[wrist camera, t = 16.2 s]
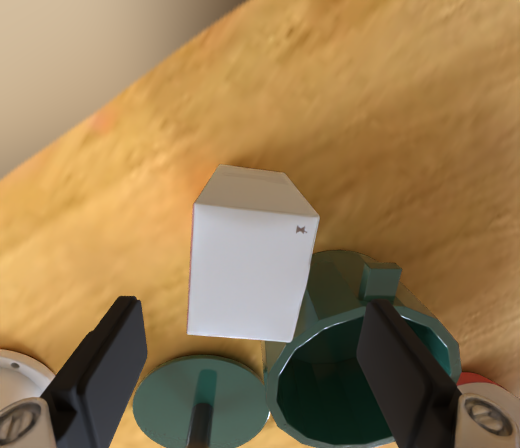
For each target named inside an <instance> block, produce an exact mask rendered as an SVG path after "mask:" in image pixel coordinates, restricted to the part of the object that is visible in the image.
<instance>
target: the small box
mask: <svg viewBox="0 0 520 448" xmlns="http://www.w3.org/2000/svg"><path fill="white" fill-rule="evenodd" d="M319 218H320V216H319V215H318V213H317V212H316V211H315V210H314V209H313V207H312V206H311V205H310V204H309V202H308V201H307V200H306V199H305V198H304V196H303V195H302V194H301V193H300V191H299V190H298V189H297V188H296V187H295V185H294V184H293V183H292V182H291V180H290V179H289V178H288V177H287V176H286V174H285V173H283V172H275V171H267V170H259V169H252V168H244V167H237V166H230V165H222V164H219V165H218V167H217V168H216V170H215V172H214V173H213V175H212V176H211V178H210V179H209V181H208V182H207V184H206V186H205V187H204V189H203V190H202V192H201V193H200V195H199V197H198V198H197V199H196V201H195V202H194V204H193V214H192V232H191V250H190V272H189V291H188V312H187V334H189V335H200V336H215V337H228V338H241V339H255V340H267V341H280V342H291V341H292V339H293V335H294V332H295V328H296V324H297V320H298V315H299V311H300V307H301V303H302V299H303V295H304V292H305V289H306V285H307V280H308V275H309V270H310V262H311V257H312V252H313V247H314V243H315V238H316V233H317V228H318V224H319Z"/></svg>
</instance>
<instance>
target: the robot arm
mask: <svg viewBox="0 0 520 448" xmlns="http://www.w3.org/2000/svg"><path fill="white" fill-rule="evenodd" d="M356 355H357V360H358V362H359V364H360V366H361V368H362V371H363V373H364V375H365V377H366V379H367V381H368V383H369V386H370V388H371V390H372V392H373V394H374V396H375V398H376V401H377V403H378V405H379V407H380V409H381V411H382V413H383V416H384V418H385V420H386V422H387V424H388V426H389V428H390V431H391V433H392V435H393V437H394V439H395V441H396V443H397V445H398V447H399V448H520V430H519V427H518V425H517V423H516V422H515V420H514V419H513V417H512V416H511V415H510V414H509V413H508V412H507V411H506V410H505V409H503V408H502V407H501V406H500V405H498V404H497V403H495V402H494V401H492V400H490V399H488V398H487V397H484V396H482V395H479V394H474V393H464V394H462V393H461V391H460V390H459V389H458V388H457V385H456V384H455V383H454V381H453V380H452V379H451V378H450V376H449V375H448V374H447V373H446V371H445V370H444V369H443V368H442V366H441V365H440V364H439V363H438V361H437V360H436V359H435V358H434V356H433V355H432V354H431V353H430V351H429V350H428V349H427V348H426V346H425V345H424V344H423V343H422V341H421V340H420V339H419V338H418V336H417V335H416V334H415V333H414V331H413V330H412V329H411V328H410V326H409V325H408V324H407V323H406V321H405V320H404V319H403V318H402V316H401V315H400V314H399V313H398V311H397V310H396V309H395V308H394V306H393V305H392V304H391V303H390V301H389V300H387V299H372V300H371V302H369V303H368V304H367V306H366V311H365V315H364V320H363V324H362V329H361V333H360V338H359V342H358V347H357V352H356ZM146 359H147V344H146V337H145V329H144V321H143V314H142V306H141V301H140V300H137V299H136V297H135V296H119V297H118V298H117V300H116V301H115V302H114V304H113V305H112V306H111V308H110V309H109V310H108V312H107V313H106V314H105V316H104V317H103V318H102V320H101V321H100V322H99V324H98V325H97V326H96V328H95V329H94V330H93V331H91V332H89V333H88V334H87V335H86V337H85V338H84V339H83V341H82V342H81V343H80V344H79V346H78V347H77V348H76V350H75V351H74V352H73V354H72V355H71V356H70V358H69V359H68V360H67V362H66V363H65V364H64V365H63V367H62V368H61V369H60V371H59V372H58V373H57V375H56V376H55V375H54V373H53V372H52V371H51V370H49V369H48V368H47V367H46V366H45V365H43V364H42V363H40V362H39V361H37V360H35V359H33V358H31V357H29V356H27V355H24V354H21V353H18V352H14V351H9V350H3V349H0V448H109V446H110V443H111V441H112V439H113V436H114V434H115V432H116V429H117V427H118V425H119V422H120V420H121V418H122V415H123V413H124V411H125V408H126V406H127V404H128V401H129V399H130V397H131V394H132V392H133V390H134V387H135V385H136V383H137V381H138V378H139V376H140V374H141V371H142V369H143V367H144V364H145V362H146Z"/></svg>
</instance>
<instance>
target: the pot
mask: <svg viewBox="0 0 520 448" xmlns="http://www.w3.org/2000/svg"><path fill="white" fill-rule="evenodd" d="M401 272H402V269H401V268H400V267H399V266H398V265H397V264H396V263H380V262H378V261H376V260H375V259H373V258H371V257H369V256H367V255H364V254H361V253H358V252H353V251H346V250H330V251H324V252H319V253H315V254H312V257H311V262H310V270H309V275H308V280H307V285H306V289H305V292H304V295H303V299H302V303H301V307H300V311H299V315H298V320H297V324H296V328H295V332H294V335H293V339H292V341H291V342H280V341H267V340H261V348H262V361H263V374H264V387H265V400H266V405H267V407H268V409H269V411H270V413H271V414H272V416H273V418H274V420H275V422H276V424H277V426H278V427H279V428H280V429H282V430H283V431H284V432H286V433H287V434H289V435H290V436H292V437H293V438H294V439H296V440H297V441H299V442H300V443H301V444H304V445H308V446H312V447H316V448H374V447H378V446H381V445H384V444H388V443H391V442H395V439H394V437H393V435H392V433H391V431H390V428H389V426H388V424H387V422H386V420H385V418H384V416H383V413H382V411H381V409H380V407H379V405H378V403H377V401H376V398H375V396H374V394H373V392H372V390H371V388H370V386H369V383H368V381H367V379H366V377H365V375H364V373H363V371H362V368H361V366H360V364H359V362H358V360H357V355H356V352H357V347H358V342H359V338H360V333H361V329H362V324H363V320H364V315H365V311H366V306H367V304H368V303H369V302H371V300H372V299H387V300H389V301H390V303H391V304H392V305H393V306H394V308H395V309H396V310H397V311H398V313H399V314H400V315H401V316H402V318H403V319H404V320H405V321H406V323H407V324H408V325H409V326H410V328H411V329H412V330H413V331H414V333H415V334H416V335H417V336H418V338H419V339H420V340H421V341H422V343H423V344H424V345H425V346H426V348H427V349H428V350H429V351H430V353H431V354H432V355H433V356H434V358H435V359H436V360H437V361H438V363H439V364H440V365H441V366H442V368H443V369H444V370H445V371H446V373H447V374H448V375H449V376H450V378H451V379H452V380H453V381H454V383H455V384H456V385H457V382H458V380H459V377H460V375H461V372H462V370H461V361H460V353H459V344H458V342H457V341H456V340H455V339H454V338H453V336H452V335H451V334H450V333H449V332H448V330H447V329H446V328H445V327H444V326H443V324H442V323H441V322H440V321H439V320H438V319H437V318H436V317H435V316H434V315H433V314H432V313H431V312H430V311H429V310H428V309H427V308H426V307H425V306H424V305H423V304H422V303H421V302H420V301H419V300H418V299H417V298H416V297H415V296H414V295H413V294H412V293H411V292H410V291H409V290H408V289H407V288H406V287H405V286H404V285H403V284H402V283H401V282H400V281H399V280H400V276H401Z"/></svg>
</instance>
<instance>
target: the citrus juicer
mask: <svg viewBox="0 0 520 448" xmlns="http://www.w3.org/2000/svg"><path fill="white" fill-rule="evenodd" d="M457 388H458V389H459V390H460V391H461V393H462V394H464V393H474V394H479V395H482V396H484V397H487V398H488V399H490V400H492V401H494V402H495V403H497V404H498V405H500V406H501V407H502V408H503V409H505V410H506V411H507V412H508V413H509V414H510V415H511V416H512V417H513V419H514V420H515V422H516V423H517V425H518V427H519V430H520V399H519V398H517V397H516V396H514V395H513V394H511V393H509V392H508V391H507V390H506V389H505V388H503V387H502V386H500V385H498V384H497V383H495V382H493V381H491V380H489V379H487V378H485V377H483V376H481V375H479V374H475V373H471V372H461V375H460V377H459V380H458V382H457Z"/></svg>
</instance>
